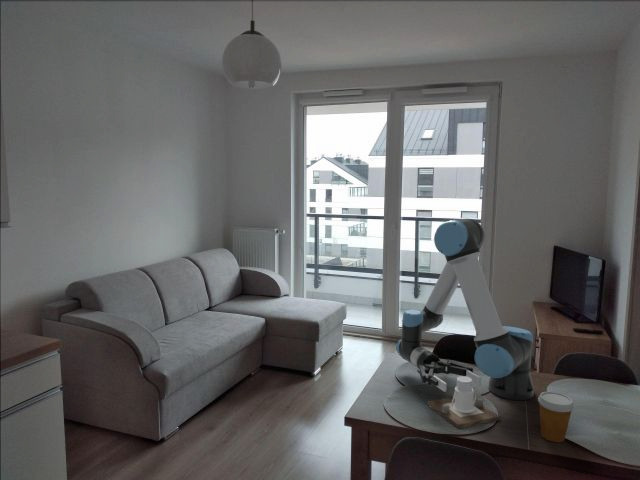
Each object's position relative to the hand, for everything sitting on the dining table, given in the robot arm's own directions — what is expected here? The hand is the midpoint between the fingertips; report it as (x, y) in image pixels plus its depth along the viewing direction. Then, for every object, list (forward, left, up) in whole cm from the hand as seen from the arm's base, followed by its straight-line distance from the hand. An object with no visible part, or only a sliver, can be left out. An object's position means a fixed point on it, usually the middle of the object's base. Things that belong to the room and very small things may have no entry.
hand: (463, 384), depth 154 cm
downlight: (-1, 0, -8) cm, 8 cm away
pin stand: (0, 0, -9) cm, 9 cm away
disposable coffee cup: (-24, +11, -9) cm, 28 cm away
